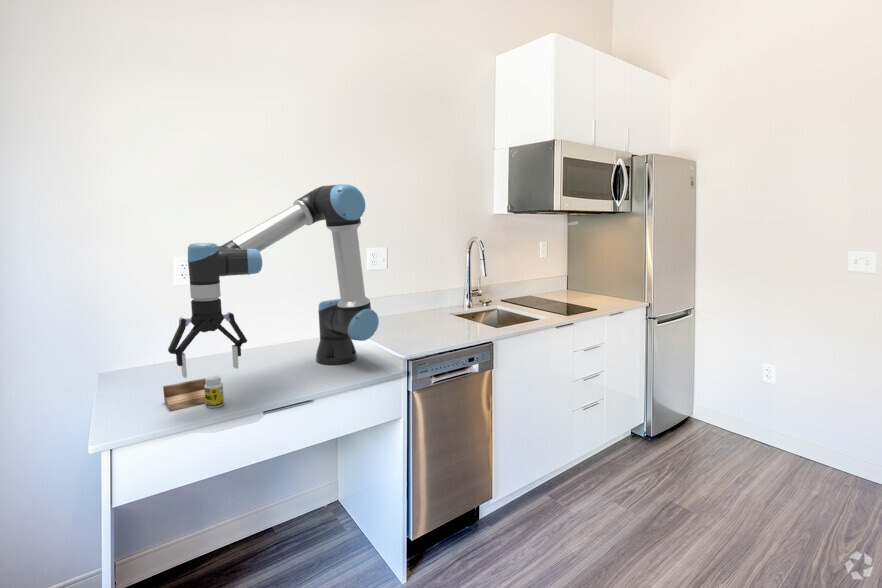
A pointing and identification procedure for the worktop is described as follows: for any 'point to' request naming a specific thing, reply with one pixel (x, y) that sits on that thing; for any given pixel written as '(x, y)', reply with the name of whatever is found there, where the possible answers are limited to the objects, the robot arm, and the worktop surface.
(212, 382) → the supplement bottle
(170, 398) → the wooden stand
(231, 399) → the worktop surface
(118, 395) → the worktop surface
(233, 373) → the worktop surface
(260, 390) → the worktop surface
